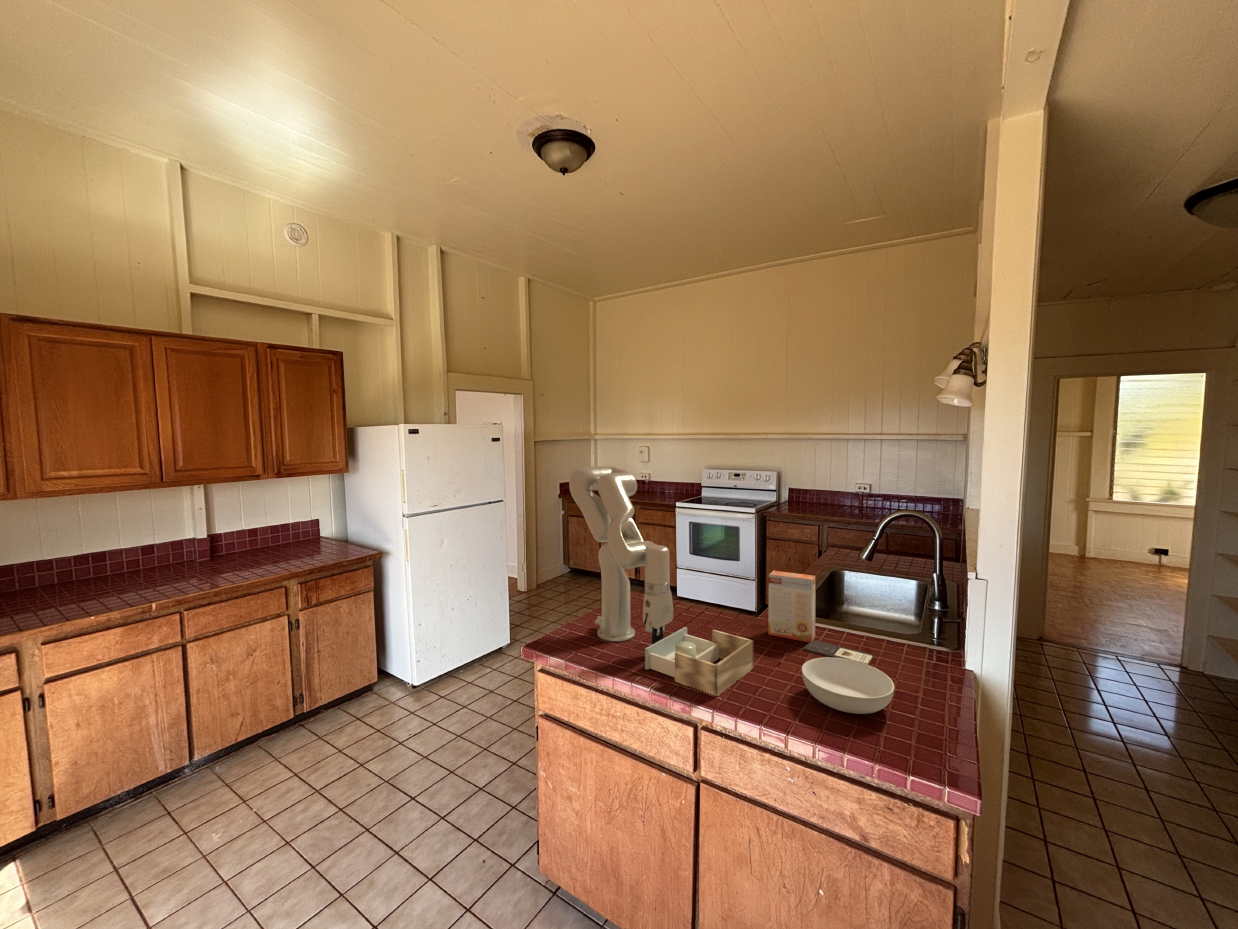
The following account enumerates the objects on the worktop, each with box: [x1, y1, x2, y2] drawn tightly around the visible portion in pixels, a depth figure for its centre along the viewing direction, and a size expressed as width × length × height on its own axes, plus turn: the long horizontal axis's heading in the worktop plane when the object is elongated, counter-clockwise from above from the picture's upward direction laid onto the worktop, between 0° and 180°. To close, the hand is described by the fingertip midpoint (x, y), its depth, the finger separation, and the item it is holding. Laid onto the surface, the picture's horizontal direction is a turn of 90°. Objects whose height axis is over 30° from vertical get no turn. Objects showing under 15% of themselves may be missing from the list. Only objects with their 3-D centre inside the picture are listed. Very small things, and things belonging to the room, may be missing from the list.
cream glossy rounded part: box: [675, 641, 696, 657], centre depth 144 cm, size 6×6×4 cm
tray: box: [644, 626, 720, 678], centre depth 144 cm, size 13×21×6 cm, turn 140°
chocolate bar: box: [802, 639, 874, 665], centre depth 151 cm, size 9×1×18 cm
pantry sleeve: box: [674, 629, 754, 697], centre depth 138 cm, size 13×21×8 cm, turn 140°
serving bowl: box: [801, 656, 895, 715], centre depth 123 cm, size 21×21×7 cm
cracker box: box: [767, 570, 816, 643], centre depth 164 cm, size 14×6×21 cm, turn 58°
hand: (657, 646), depth 150 cm, fingers closed
